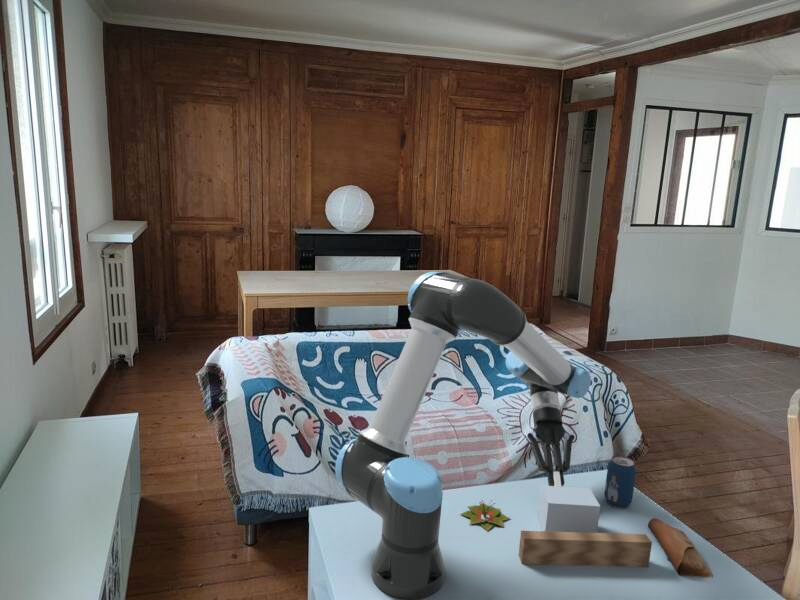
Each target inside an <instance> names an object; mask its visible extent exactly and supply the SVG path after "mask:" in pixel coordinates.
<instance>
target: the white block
mask: <svg viewBox="0 0 800 600" xmlns="http://www.w3.org/2000/svg"><path fill="white" fill-rule="evenodd" d="M537 509H538V510H537V517H536V518H537V521H538V522H537V523H538V525H539V527H540V529H541V530H540V531H552V532H585V533H598V527H599V520H600V512H601V505H600V503H599V501H598V499H596V497H595V495H594V492H593V491H592V489H591V488H585V487H571V486H561V487H555V486H549V485H540V491H539V499H538V508H537Z"/></svg>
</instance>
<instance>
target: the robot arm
mask: <svg viewBox="0 0 800 600" xmlns="http://www.w3.org/2000/svg"><path fill="white" fill-rule="evenodd" d="M407 302H408V304H407V307H408V310H409V311H410V312H409V313H410V315H409V317H408V321H409V325H410V328H411V329H410V332H409V334H408V337H407V338H406V341H405V343H404V345H403V348H402V350H401V353H400V355H399V357H398V360H397V362H396V364H395V367H394V369H393V372H392V374H391V376H390V379H389V381H388V383H387V384H386V388H385V390H384V393H383V394H382V397H381V400H380V401H379V403H378V405H377V408H376V412H375V413H374V416H373V418H372V420H371V422H370V425H369V427H367V428H365V429H363V430H360V432H358V435H357V437H356V438H353V439H351V440H349V441H348V442H347V443H346V444H344V445H343V446H342V448H341V449H340V451H339V453H338V454H337V457H336V461H335V477H336V480H337V483H338V484H339V486H340V487H341V488H342V489H343V490H345V492H346V493H347V494H348V495H349V496H351V498H354V499H356V500H357V501H358V502H360V503H361V504H363V505H364V506H365V507H367V508H369V510H371V511H372V512H374V513H375V514H377V515H378V516H379V517H381V520H382V522H381V525H382V526H381V527H382V528H381V538H380V541H379V543H378V545H377V547H376V550H375V553H374V555H373V558H372V561H371V571H370V572H371V574H370V576H371V578H372V581H373V583H374V584H375V586H376V587H377V588H378V589H379V590H380V591H382V592H384V593H385V594H387V595H389V596H391V597H394V598H399V599H405V600H418V599H423V598H427V597H429V596H431V595H433V594H435V593H437V592H438V591H439V590H440V589H441V587H442V586H443V585H444V582H445V575H446V574H445V571H446V567H445V562H444V558H443V555H442V551H441V546H440V544H439V535H440V528H441V527H440V526H441V525H440V524H441V516H442V515H441V514H442V506H443V505H442V504H443V503H442V502H443V480H442V476H441V475H440V473H439V471H438V470H437V469H436V468H435V467H434V466H433V465H432V464H430V463H429V462H427V461H425V460H423V459H419V458H417V459H415V458H413V457H410V456H409V457H407V456H408V454H409V451H408V448H407V446H406V441H407V438H408V436H409V433H410V431H411V429H412V427H413V424H414V422H415V419H416V417H417V415H418V413H419V410H420V408H421V405H422V402H423V400H424V398H425V395H426V393H427V390H428V388H429V386H430V383H431V382H432V379H433V377H434V374H435V371H436V370H437V367H438V365H439V362H440V360H441V357H442V355H443V353H444V350H445V347H446V346H447V345H446V344H449V343H451V342H453V341H455V340H456V339H457V337H458V334H459V331H465V332H468V333H471V334H475V335H477V336H478V335H479V336H481V337H484V338H486V339H488V340H489V341H490V342H492V343H493V344H495V345H498V346H504V348H506V349H507V350H509V352H508V353H507V355H506V358H505V366H506V369H507V370H508V371H509V372H510V373H511V374H512V376H515V377H516V378H518V379H519V380H521V382H523V383H525V384H526V385H527V386H528V388H529V393H530V403H531V412H532V420H533V430H532V431H531V432H529V433H528V432H527V434H526V436H525V440H526V441H527V442H528V444H529V445H530V448H531V451H532V455H533V456H534V459H535V462H536V464H537V467H538V470H539V471H540V472H544V473H545V475H546V477H547V483H548V486H555V487H564V485H565V477H564V473H566V472H568V471H569V470H570V468H571V459H572V458H571V456H572V447H573V446H572V445H573V441H574V440H575V435H574V434H569V433H568V432H566V429H565V428H564V425H563V419H562V417H563V416H562V411H561V409H560V408H561V406H560V399H559V398H560V397H559V393H560V394H563V395H565V396H567V397H572V398H576V399H581V398H583V397H585V396H586V394H587V393H588V391H589V389H590V387H591V384H592V383H591V382H592V378H591V377H592V376H591V374H590V372H589V371H588V370H586V369H583V368H581V367H579V366H574V365H573V364H572V363H570V362H569V360H568V359H566V358H565V357H564V355H562V354H561V353H560V352H559V351H558V350H557V349H556V348H555V347H554V346H553V345H552V344H551V343H550V342H549V341H547V339H546V338H545V337H544V336H542V334H541V333H539V331H537V330H536V329H535V328H534V327H533V326H532V325H531V324H530V323H529V321H527V316H526V313H525V312H524V311H523V310H522V309H521V308H520V306H518V304H516V303H515V302H514V301H513V300H512V299H510V298H509V296H507V295H506V294H505V293H503V292H502V291H501V290H500V289H498V288H497V287H496V286H493V285H491V284H490V283H488V282H487V281H484V280H482V279H478V278H472V277H467V276H462V275H458V274H454V273H449V272H445V271H428V272H426V273H423V274H422V275H420V276H418V277H417V278H416V279H415V281H414V282H413V284H411V287H410V288H409V290H408V295H407ZM537 439H538V440H537ZM562 439H563V441H564V446H563V447H564V448H563V458H562V454H561V453H562V452H561V441H562ZM538 441H539V442H540V443H541V446H542V449H543V454H542V451H541V449H540V446H539V443H538ZM552 454H553V456H552ZM562 459H563V460H562ZM553 460H554V461H553ZM553 463H554V466H553ZM554 468H555V471H554Z"/></svg>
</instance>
